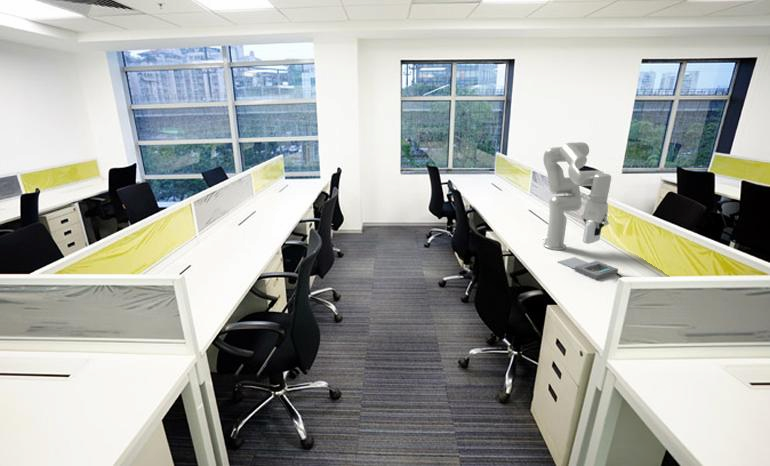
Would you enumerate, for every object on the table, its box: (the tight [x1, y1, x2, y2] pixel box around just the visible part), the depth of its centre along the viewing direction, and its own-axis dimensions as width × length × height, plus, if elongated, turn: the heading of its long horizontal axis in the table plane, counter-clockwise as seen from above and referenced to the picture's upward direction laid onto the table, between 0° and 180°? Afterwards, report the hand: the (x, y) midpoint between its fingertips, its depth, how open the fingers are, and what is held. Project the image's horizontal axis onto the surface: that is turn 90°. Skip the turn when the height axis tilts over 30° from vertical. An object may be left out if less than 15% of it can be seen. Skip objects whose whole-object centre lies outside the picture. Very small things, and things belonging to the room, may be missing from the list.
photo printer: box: [582, 220, 602, 245], centre depth 184 cm, size 10×4×12 cm, turn 122°
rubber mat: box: [557, 256, 589, 270], centre depth 197 cm, size 10×13×1 cm
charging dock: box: [574, 260, 619, 281], centre depth 186 cm, size 12×16×3 cm
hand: (592, 233), depth 185 cm, fingers closed on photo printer, 4 cm apart
